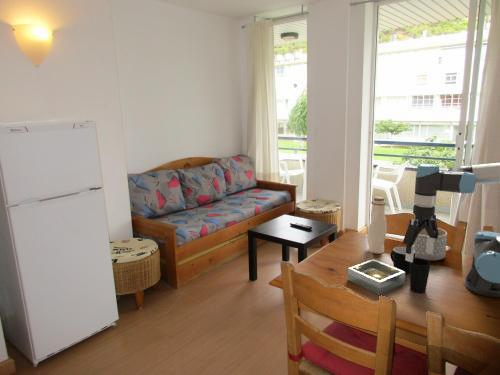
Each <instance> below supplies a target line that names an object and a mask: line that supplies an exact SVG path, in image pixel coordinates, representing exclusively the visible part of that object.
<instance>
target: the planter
mask: <svg viewBox="0 0 500 375" xmlns="http://www.w3.org/2000/svg"><path fill="white" fill-rule="evenodd" d="M434 232H435V231H434ZM438 232H439V235H438V238H437V239H436V238H435V241H434V251H433V254H429V253H426V245H427V237H429V235H428V233H427V231H426V229H425V228H424V229H423V230H422V231H421V232H420V233H419V235H418V236H417V238H416V240H415V242H414V244H413V246H414V251H415V258H421V259H425V260H428V261H429V262H434V261H435V262H436V261H439V260H442V259H444V258H446V251H447V240H448V239H447V238H448V232H447V231H446V230H444V229H443V228H440V227H438Z"/></svg>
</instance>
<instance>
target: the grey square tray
mask: <svg viewBox="0 0 500 375" xmlns="http://www.w3.org/2000/svg"><path fill="white" fill-rule="evenodd" d="M405 278H406V275H405V271H402V270H399V269H397V268H394V266H392V265H389V264H386V263H384V262H381V261H379V260H376V259H374V258H373V259H370V260H366V261H365V262H362V263H359V264H355V265H352V266H350V267H348V270H347V281H349V282H351V283H353V284H356V285H357V286H359V287H361V288H364V289H366V290H367V291H369V292H372V293H374V294H376V295H378V296H381V295H383V294H386V293H388V292H390V291H393V290H394V289H397V288H399V287H401V286H404V285H405V281H406V279H405Z"/></svg>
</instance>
